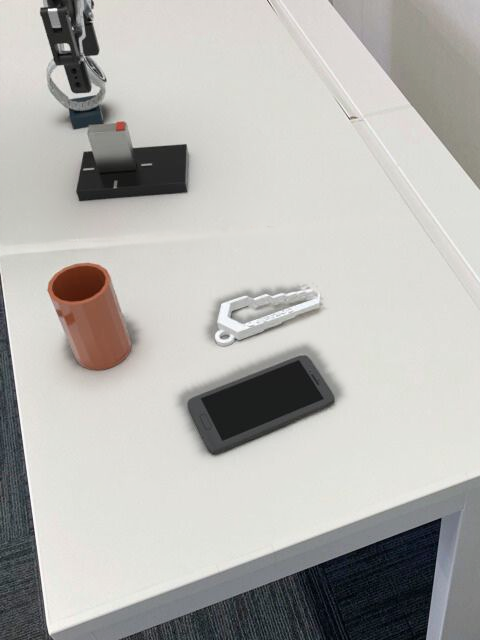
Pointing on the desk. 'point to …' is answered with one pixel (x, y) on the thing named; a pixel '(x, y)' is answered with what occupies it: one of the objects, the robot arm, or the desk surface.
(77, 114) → the watch
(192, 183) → the desk surface
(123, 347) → the tumbler
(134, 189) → the hob panel
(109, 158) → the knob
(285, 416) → the cell phone
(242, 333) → the white stepped wedge frame
